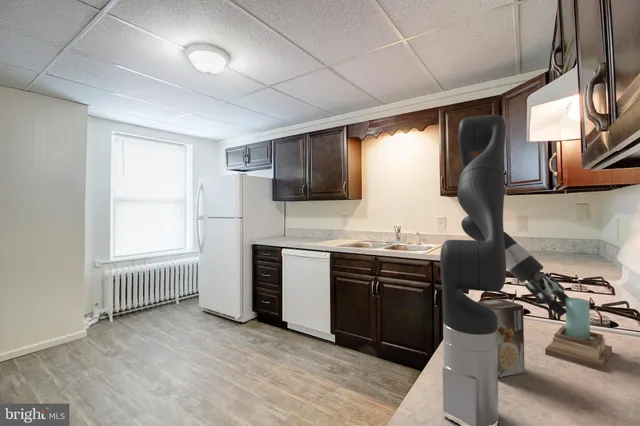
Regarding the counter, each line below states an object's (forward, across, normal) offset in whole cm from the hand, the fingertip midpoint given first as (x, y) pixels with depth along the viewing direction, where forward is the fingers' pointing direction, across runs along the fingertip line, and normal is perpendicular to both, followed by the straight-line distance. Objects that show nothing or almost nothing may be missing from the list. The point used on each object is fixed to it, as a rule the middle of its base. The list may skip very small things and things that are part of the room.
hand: (568, 310), depth 82 cm
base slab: (+9, 0, +6) cm, 11 cm away
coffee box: (+2, -24, +14) cm, 28 cm away
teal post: (+6, 0, +3) cm, 7 cm away
